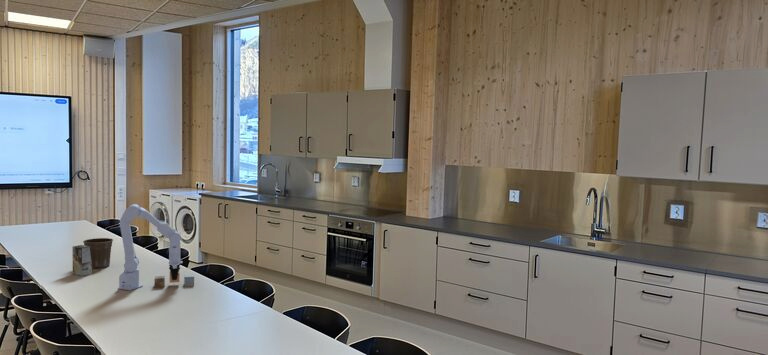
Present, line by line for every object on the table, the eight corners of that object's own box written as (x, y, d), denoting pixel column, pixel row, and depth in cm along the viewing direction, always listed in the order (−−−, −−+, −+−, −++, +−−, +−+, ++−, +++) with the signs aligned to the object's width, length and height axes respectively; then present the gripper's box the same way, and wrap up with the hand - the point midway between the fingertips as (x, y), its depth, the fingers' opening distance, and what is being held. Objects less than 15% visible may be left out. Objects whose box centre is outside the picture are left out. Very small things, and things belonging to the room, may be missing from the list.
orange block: (169, 282, 296) (169, 273, 296) (169, 280, 301) (169, 271, 300) (179, 282, 298) (179, 273, 298) (179, 279, 302) (179, 270, 302)
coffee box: (92, 274, 317) (92, 246, 316) (81, 276, 312) (81, 248, 310) (82, 271, 321) (82, 244, 320) (71, 273, 316) (71, 246, 315)
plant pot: (76, 268, 330) (76, 241, 329) (96, 262, 345) (96, 237, 344) (99, 270, 326) (99, 243, 325) (118, 264, 342) (119, 239, 341)
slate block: (184, 286, 299) (184, 277, 299) (184, 283, 304) (184, 274, 303) (194, 285, 301) (194, 276, 300) (193, 283, 305) (193, 274, 305)
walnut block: (154, 287, 294) (154, 278, 293) (154, 285, 298) (154, 276, 298) (164, 287, 295) (164, 278, 295) (164, 284, 300) (164, 275, 300)
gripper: (182, 256, 293) (182, 281, 294) (182, 251, 306) (182, 275, 307) (168, 256, 290) (168, 282, 291) (168, 251, 304) (168, 275, 305)
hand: (174, 278), depth 299 cm, fingers closed on orange block, 5 cm apart
